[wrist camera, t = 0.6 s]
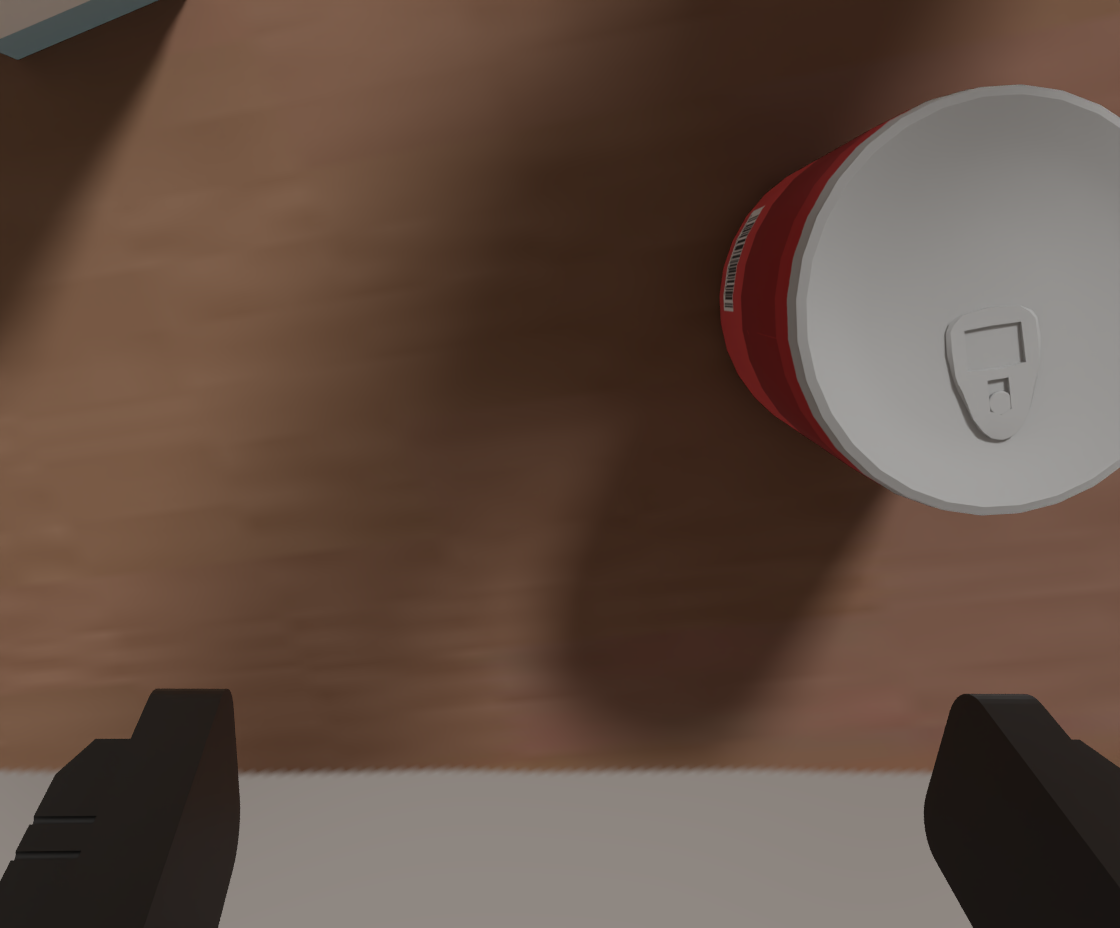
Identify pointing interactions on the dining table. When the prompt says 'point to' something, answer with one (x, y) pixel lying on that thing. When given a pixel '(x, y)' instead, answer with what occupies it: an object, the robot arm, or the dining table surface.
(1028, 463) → the canned food
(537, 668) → the dining table surface
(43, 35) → the carton
